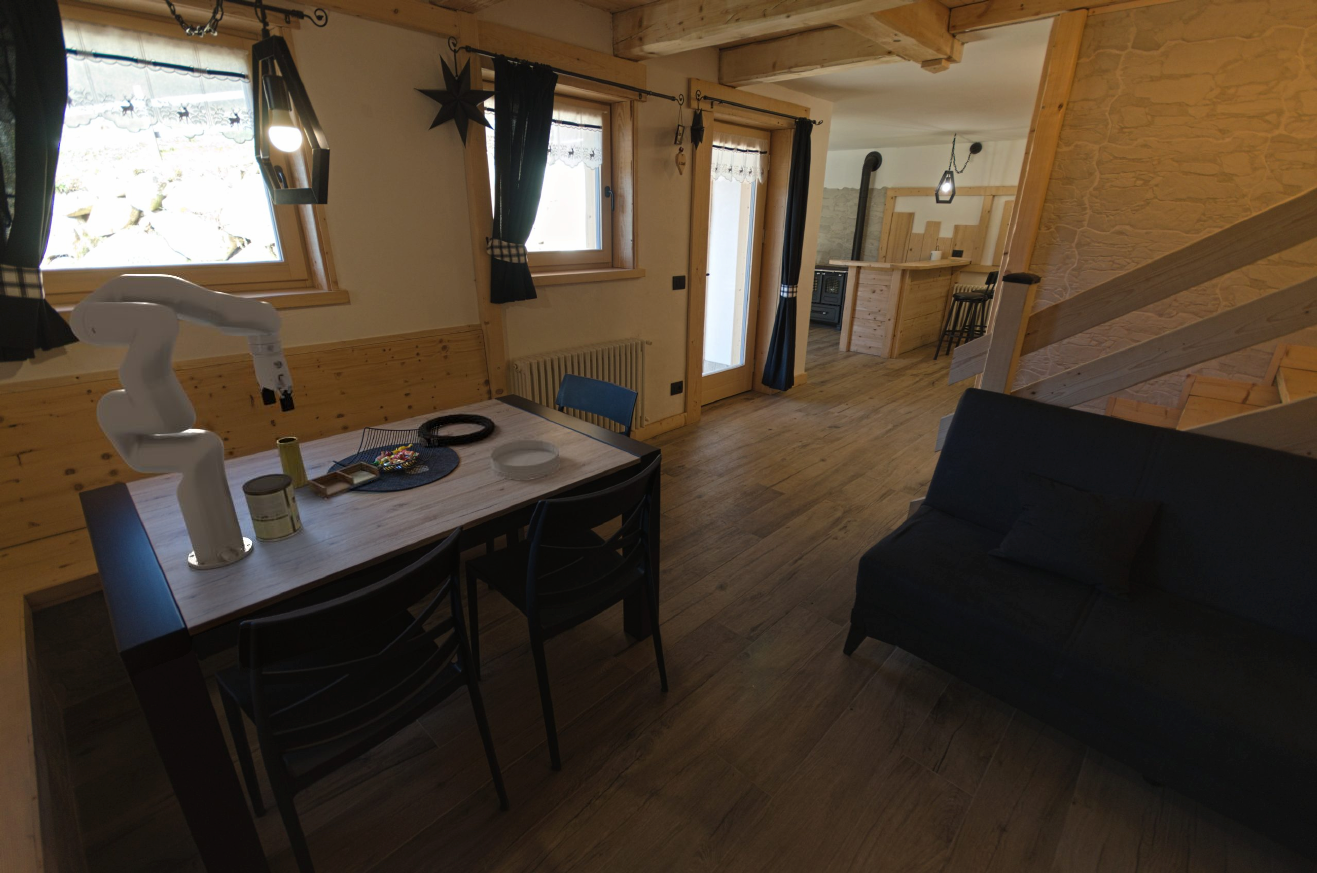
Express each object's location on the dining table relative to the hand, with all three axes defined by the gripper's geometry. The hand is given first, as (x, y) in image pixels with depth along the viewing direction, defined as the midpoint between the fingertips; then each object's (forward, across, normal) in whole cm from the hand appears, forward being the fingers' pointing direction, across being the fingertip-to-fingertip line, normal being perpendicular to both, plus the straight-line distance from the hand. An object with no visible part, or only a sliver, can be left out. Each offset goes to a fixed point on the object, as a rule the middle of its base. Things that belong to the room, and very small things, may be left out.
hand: (279, 407), depth 165 cm
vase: (+24, 0, 0) cm, 25 cm away
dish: (+25, -46, -49) cm, 72 cm away
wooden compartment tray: (+24, -12, -8) cm, 28 cm away
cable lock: (+25, -4, -55) cm, 60 cm away
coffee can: (+24, -24, +17) cm, 38 cm away
